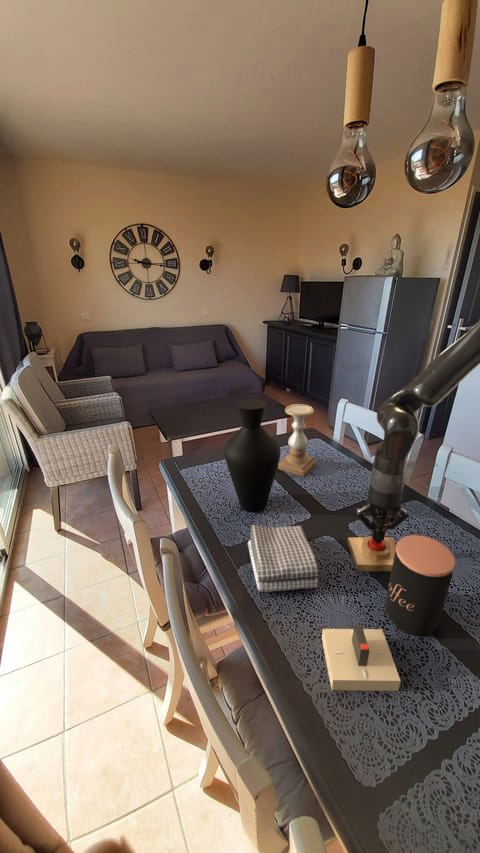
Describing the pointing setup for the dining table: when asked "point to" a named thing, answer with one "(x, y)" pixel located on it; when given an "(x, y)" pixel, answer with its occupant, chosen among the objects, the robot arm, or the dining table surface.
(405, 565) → the coffee jar
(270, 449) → the vase
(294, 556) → the towel
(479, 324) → the robot arm
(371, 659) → the panel
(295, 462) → the candle holder
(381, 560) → the switch block
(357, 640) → the dark grey block
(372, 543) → the button
